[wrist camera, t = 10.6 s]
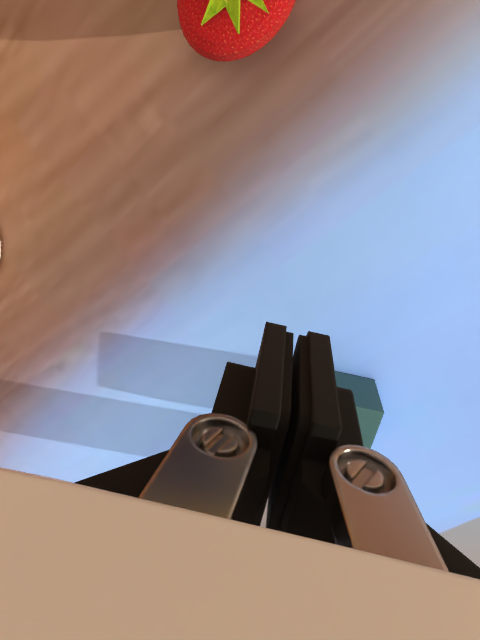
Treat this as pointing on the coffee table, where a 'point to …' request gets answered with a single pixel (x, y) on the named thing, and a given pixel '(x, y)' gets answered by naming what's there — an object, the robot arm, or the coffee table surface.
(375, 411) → the teal block
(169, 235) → the coffee table surface
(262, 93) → the coffee table surface
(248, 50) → the strawberry
